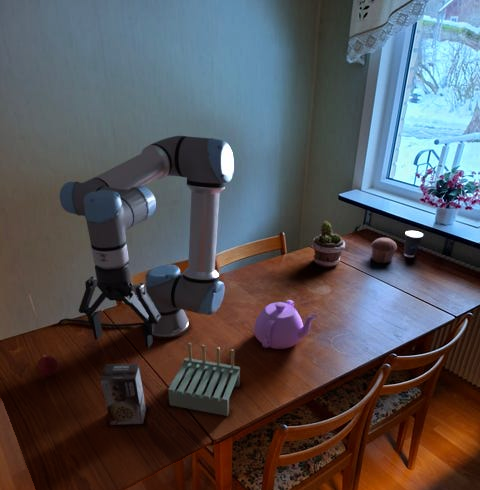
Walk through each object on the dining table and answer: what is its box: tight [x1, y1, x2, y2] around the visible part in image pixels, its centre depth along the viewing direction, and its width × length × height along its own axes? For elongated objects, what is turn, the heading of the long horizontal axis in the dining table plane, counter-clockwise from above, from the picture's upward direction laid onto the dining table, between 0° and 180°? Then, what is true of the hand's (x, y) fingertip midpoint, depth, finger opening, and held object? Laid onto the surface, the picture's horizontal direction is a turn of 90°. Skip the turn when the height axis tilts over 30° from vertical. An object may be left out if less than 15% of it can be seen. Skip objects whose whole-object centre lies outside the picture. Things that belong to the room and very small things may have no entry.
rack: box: [167, 342, 241, 417], centre depth 128 cm, size 17×14×13 cm
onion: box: [36, 354, 59, 377], centre depth 136 cm, size 6×6×8 cm
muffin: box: [370, 237, 398, 264], centre depth 208 cm, size 12×11×10 cm
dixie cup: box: [403, 230, 424, 258], centre depth 212 cm, size 8×8×11 cm
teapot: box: [253, 299, 318, 350], centre depth 151 cm, size 22×22×14 cm
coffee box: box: [100, 363, 147, 426], centre depth 119 cm, size 9×6×16 cm
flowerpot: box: [311, 219, 346, 268], centre depth 201 cm, size 14×15×20 cm
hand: (123, 340), depth 111 cm, fingers open, 13 cm apart
